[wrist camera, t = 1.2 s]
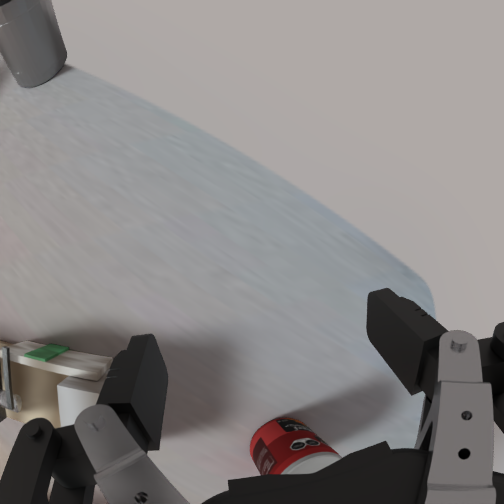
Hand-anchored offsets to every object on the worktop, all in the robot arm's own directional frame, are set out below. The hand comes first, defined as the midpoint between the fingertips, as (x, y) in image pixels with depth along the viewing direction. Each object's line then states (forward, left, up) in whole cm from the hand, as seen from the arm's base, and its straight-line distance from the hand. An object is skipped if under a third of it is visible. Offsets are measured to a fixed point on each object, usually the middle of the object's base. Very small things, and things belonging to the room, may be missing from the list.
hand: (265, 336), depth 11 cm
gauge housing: (-9, -19, -23) cm, 31 cm away
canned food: (+17, -10, -23) cm, 31 cm away
